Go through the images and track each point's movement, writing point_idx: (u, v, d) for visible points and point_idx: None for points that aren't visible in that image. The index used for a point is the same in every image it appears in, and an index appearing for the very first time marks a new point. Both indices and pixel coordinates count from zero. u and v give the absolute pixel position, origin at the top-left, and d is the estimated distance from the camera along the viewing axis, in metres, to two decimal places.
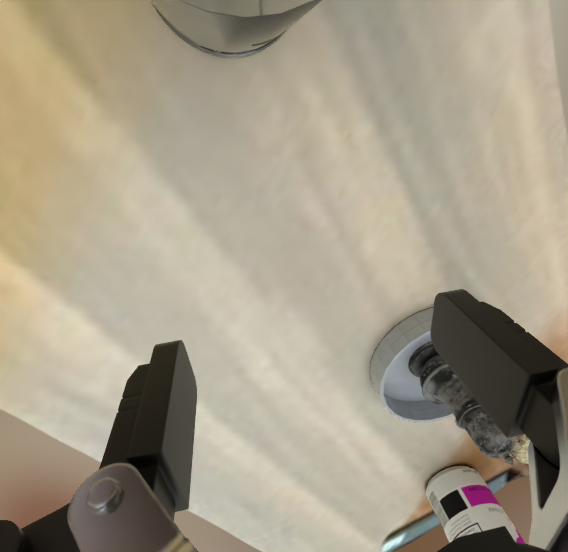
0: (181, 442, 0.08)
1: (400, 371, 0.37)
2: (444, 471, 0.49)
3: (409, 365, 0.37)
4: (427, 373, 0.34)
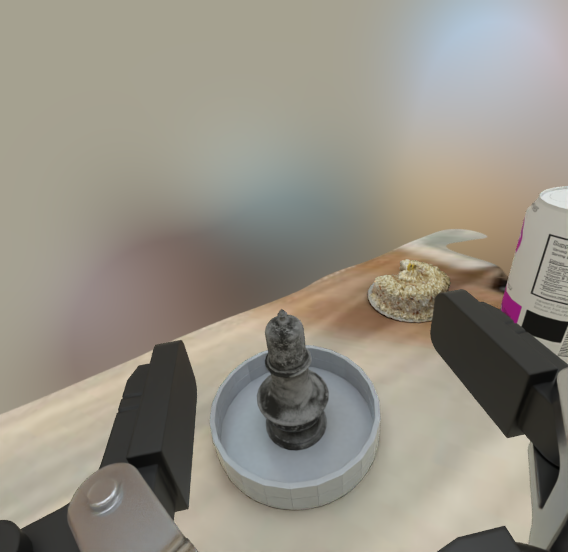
0: (180, 441, 0.08)
1: (312, 458, 0.27)
2: None
3: (301, 448, 0.27)
4: (278, 424, 0.26)
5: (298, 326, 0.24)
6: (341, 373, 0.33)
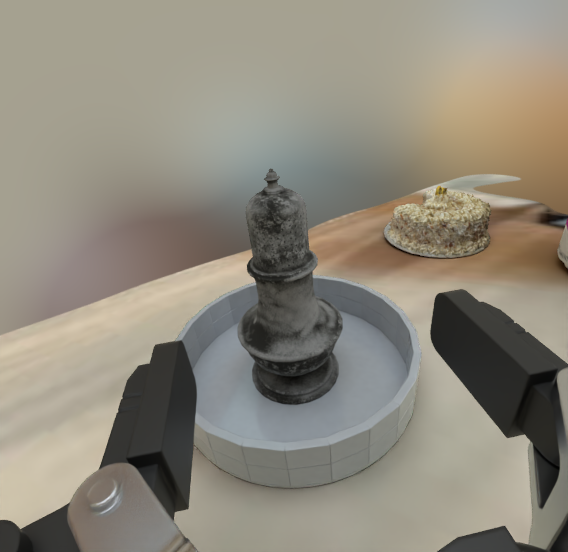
0: (181, 442, 0.08)
1: (320, 414, 0.18)
2: None
3: (302, 401, 0.19)
4: (268, 362, 0.18)
5: (297, 198, 0.15)
6: (357, 310, 0.24)
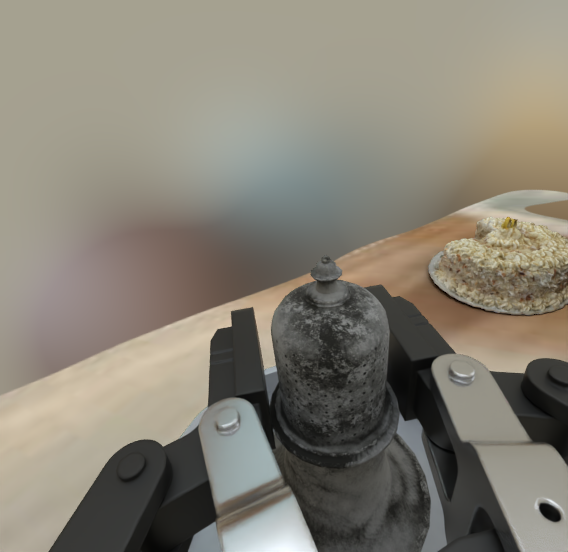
0: (266, 391, 0.09)
1: None
2: None
3: None
4: None
5: (376, 311, 0.08)
6: None
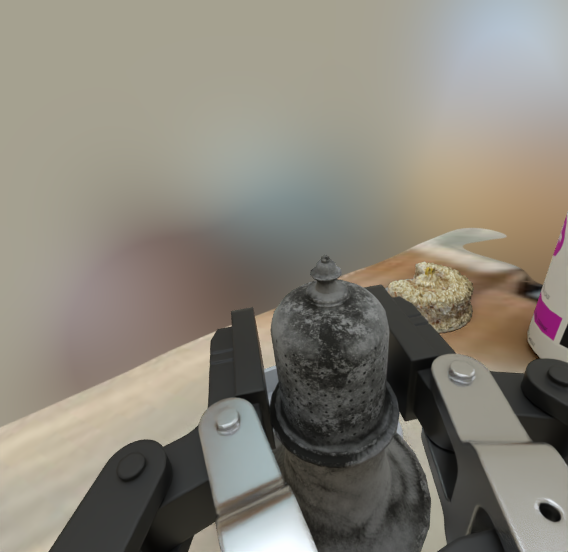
0: (266, 391, 0.09)
1: None
2: None
3: None
4: None
5: (376, 311, 0.08)
6: None
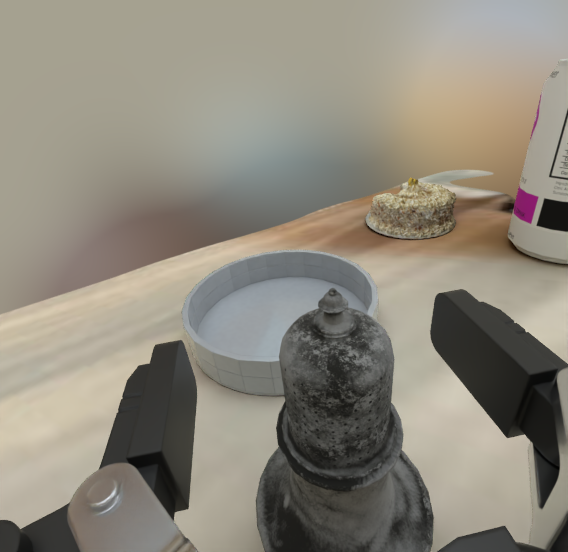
0: (181, 442, 0.08)
1: None
2: (535, 255, 0.30)
3: None
4: None
5: (381, 341, 0.08)
6: (335, 278, 0.30)
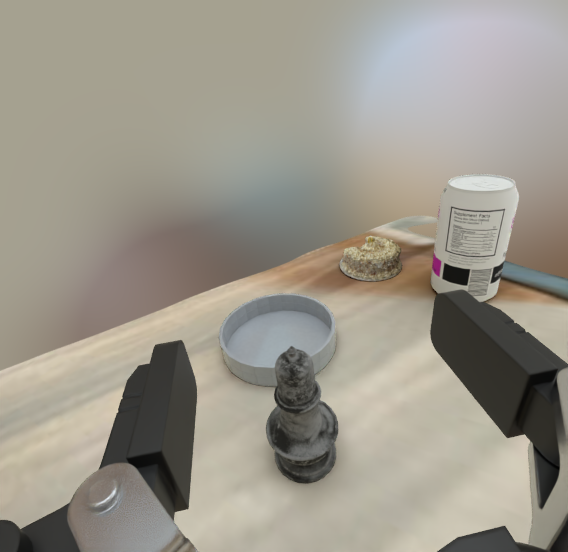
0: (181, 442, 0.08)
1: None
2: None
3: (311, 480, 0.27)
4: None
5: (308, 362, 0.24)
6: (313, 312, 0.46)
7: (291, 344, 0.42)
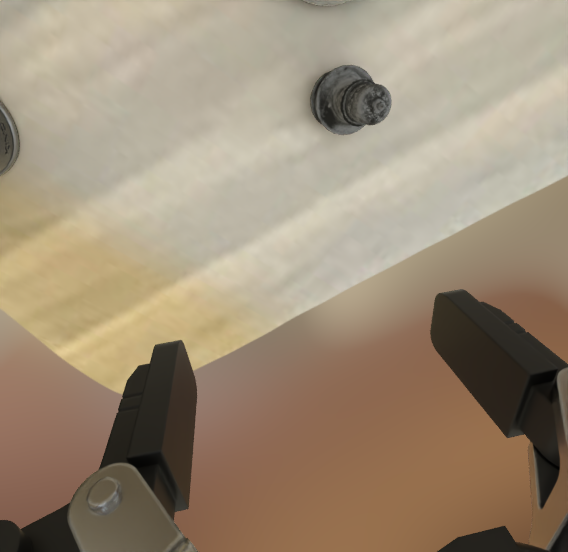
0: (181, 442, 0.08)
1: None
2: None
3: None
4: None
5: (388, 110, 0.26)
6: None
7: None
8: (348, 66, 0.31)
